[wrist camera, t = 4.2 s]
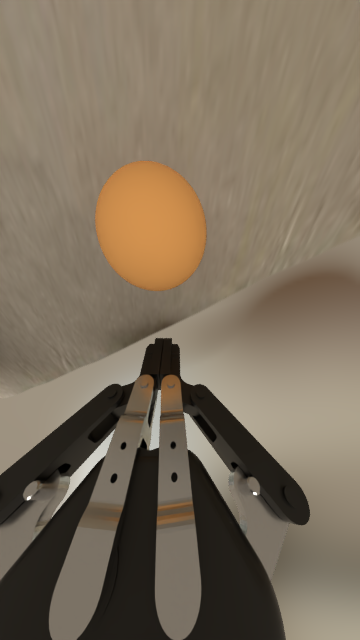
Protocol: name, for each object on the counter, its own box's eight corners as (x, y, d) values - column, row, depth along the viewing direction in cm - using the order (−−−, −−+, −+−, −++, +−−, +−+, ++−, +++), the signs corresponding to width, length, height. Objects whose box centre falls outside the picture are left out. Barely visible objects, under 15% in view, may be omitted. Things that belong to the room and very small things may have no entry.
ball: (172, 286, 13) (171, 325, 8) (108, 247, 11) (55, 269, 6) (214, 221, 10) (252, 221, 5) (138, 151, 8) (81, 40, 3)
